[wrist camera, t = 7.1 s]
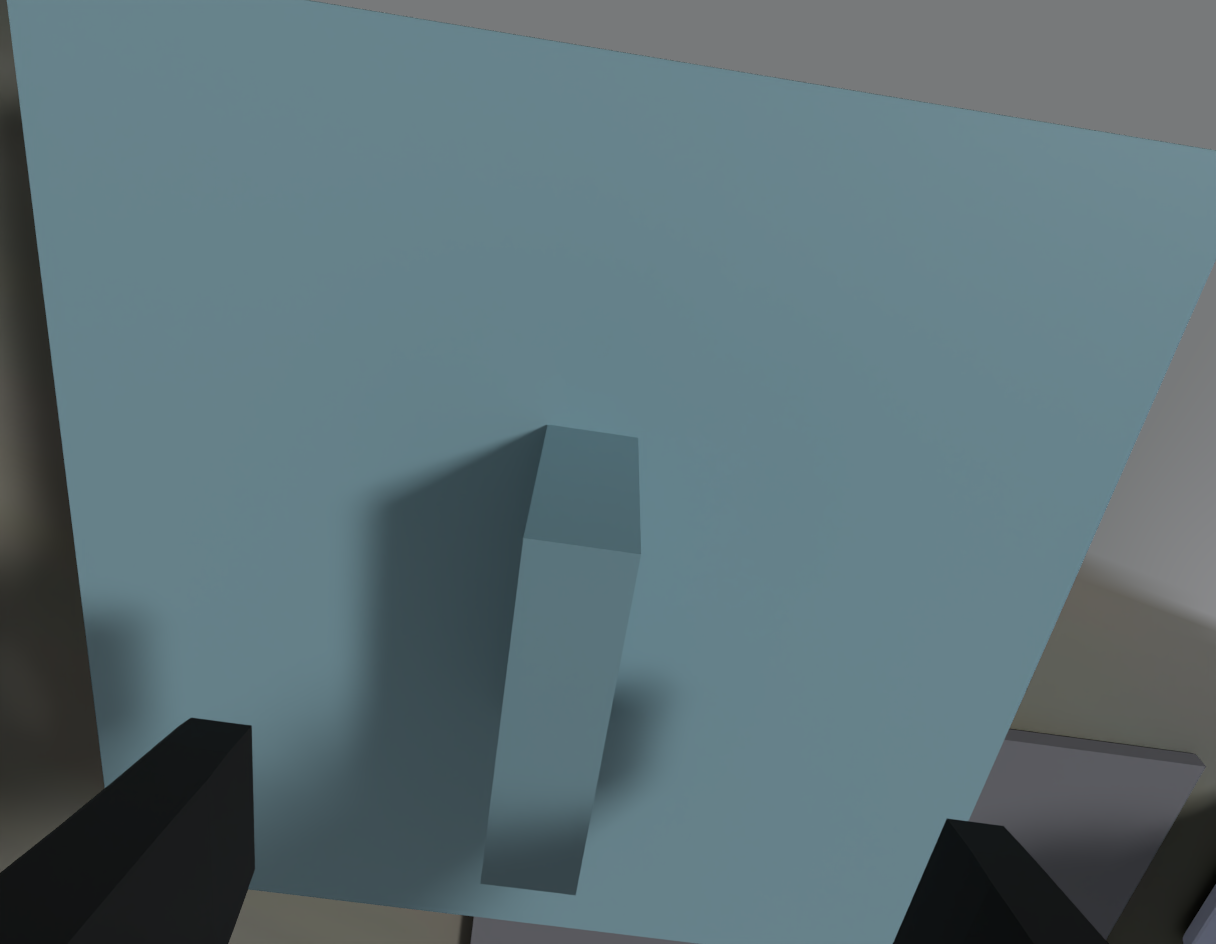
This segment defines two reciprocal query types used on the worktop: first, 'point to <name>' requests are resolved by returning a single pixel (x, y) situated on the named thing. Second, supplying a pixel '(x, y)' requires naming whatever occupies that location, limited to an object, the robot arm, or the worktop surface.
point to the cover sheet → (579, 446)
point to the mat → (1030, 825)
